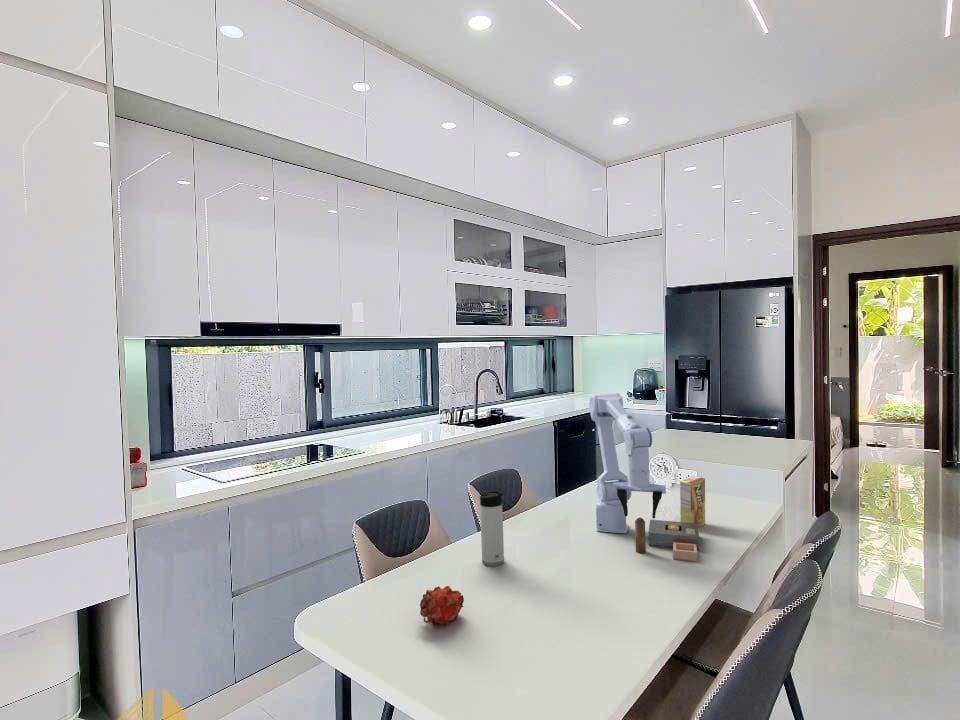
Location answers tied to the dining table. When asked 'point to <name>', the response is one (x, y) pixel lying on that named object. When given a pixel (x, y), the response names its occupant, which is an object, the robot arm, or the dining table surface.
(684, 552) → the holder
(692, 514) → the candy box
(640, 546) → the brown wooden cylinder
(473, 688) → the dining table surface
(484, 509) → the travel mug
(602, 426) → the robot arm
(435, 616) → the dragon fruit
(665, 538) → the panel
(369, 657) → the dining table surface
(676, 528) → the button
